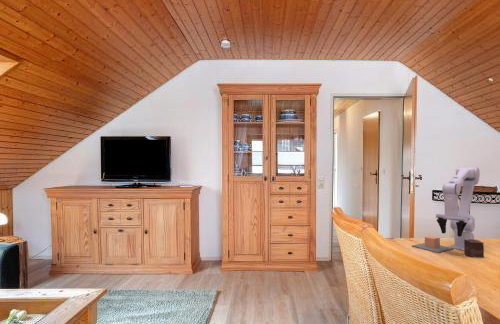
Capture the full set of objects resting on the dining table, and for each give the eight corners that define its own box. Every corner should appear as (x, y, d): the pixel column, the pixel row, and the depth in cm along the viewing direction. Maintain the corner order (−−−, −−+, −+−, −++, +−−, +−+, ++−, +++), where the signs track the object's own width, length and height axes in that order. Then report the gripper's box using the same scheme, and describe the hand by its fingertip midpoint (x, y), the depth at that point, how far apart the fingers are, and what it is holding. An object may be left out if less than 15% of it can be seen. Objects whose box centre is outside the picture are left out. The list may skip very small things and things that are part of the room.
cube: (430, 245, 170) (430, 235, 171) (439, 247, 166) (439, 237, 166) (424, 246, 168) (424, 236, 168) (433, 248, 164) (433, 238, 164)
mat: (427, 243, 177) (427, 242, 177) (453, 249, 164) (453, 248, 164) (411, 246, 170) (411, 245, 170) (437, 253, 158) (437, 251, 158)
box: (484, 258, 150) (484, 242, 150) (469, 257, 151) (469, 241, 151) (477, 254, 155) (477, 239, 156) (463, 253, 157) (463, 238, 157)
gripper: (432, 206, 161) (432, 232, 161) (462, 209, 148) (462, 238, 148) (440, 205, 164) (440, 231, 164) (470, 208, 152) (470, 237, 152)
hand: (451, 234), depth 157 cm, fingers open, 7 cm apart
